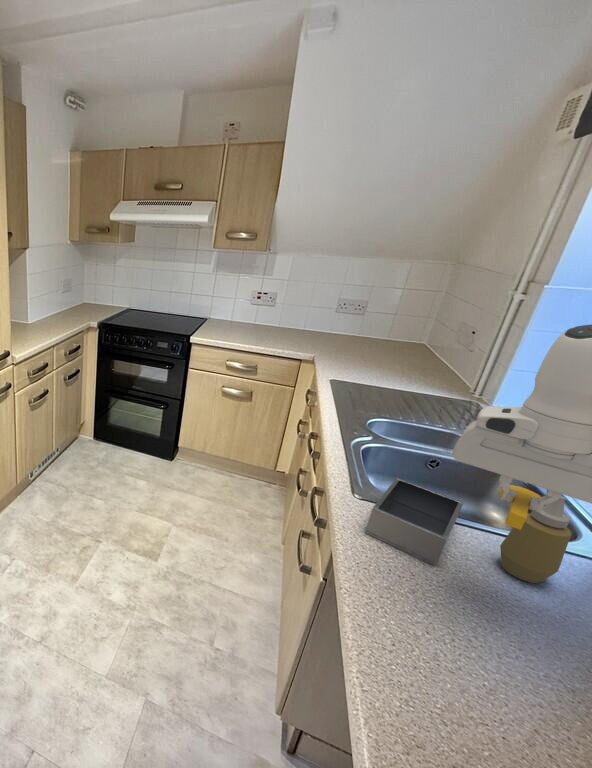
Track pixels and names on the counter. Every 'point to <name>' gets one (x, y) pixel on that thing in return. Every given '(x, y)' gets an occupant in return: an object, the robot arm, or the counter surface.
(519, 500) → the yellow letter t
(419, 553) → the grey open box
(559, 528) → the squeeze bottle
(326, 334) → the counter surface
